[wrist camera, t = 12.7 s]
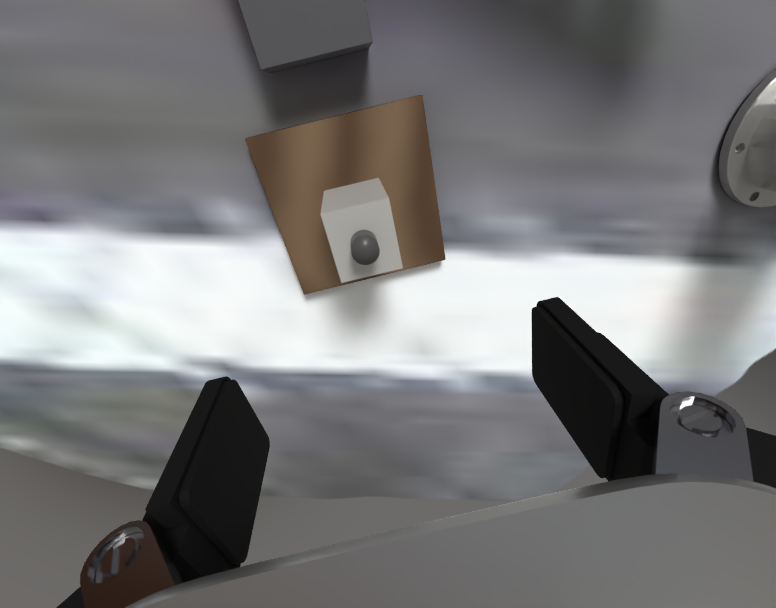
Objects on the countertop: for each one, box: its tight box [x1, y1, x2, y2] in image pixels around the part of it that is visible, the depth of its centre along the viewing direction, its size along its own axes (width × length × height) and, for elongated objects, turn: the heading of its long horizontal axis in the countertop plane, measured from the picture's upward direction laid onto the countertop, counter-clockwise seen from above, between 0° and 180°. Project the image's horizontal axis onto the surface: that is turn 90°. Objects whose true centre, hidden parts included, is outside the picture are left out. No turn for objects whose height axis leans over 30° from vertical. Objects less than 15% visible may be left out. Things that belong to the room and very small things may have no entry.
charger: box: [320, 178, 403, 283], centre depth 25 cm, size 4×4×10 cm
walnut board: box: [245, 95, 445, 294], centre depth 30 cm, size 13×13×1 cm
